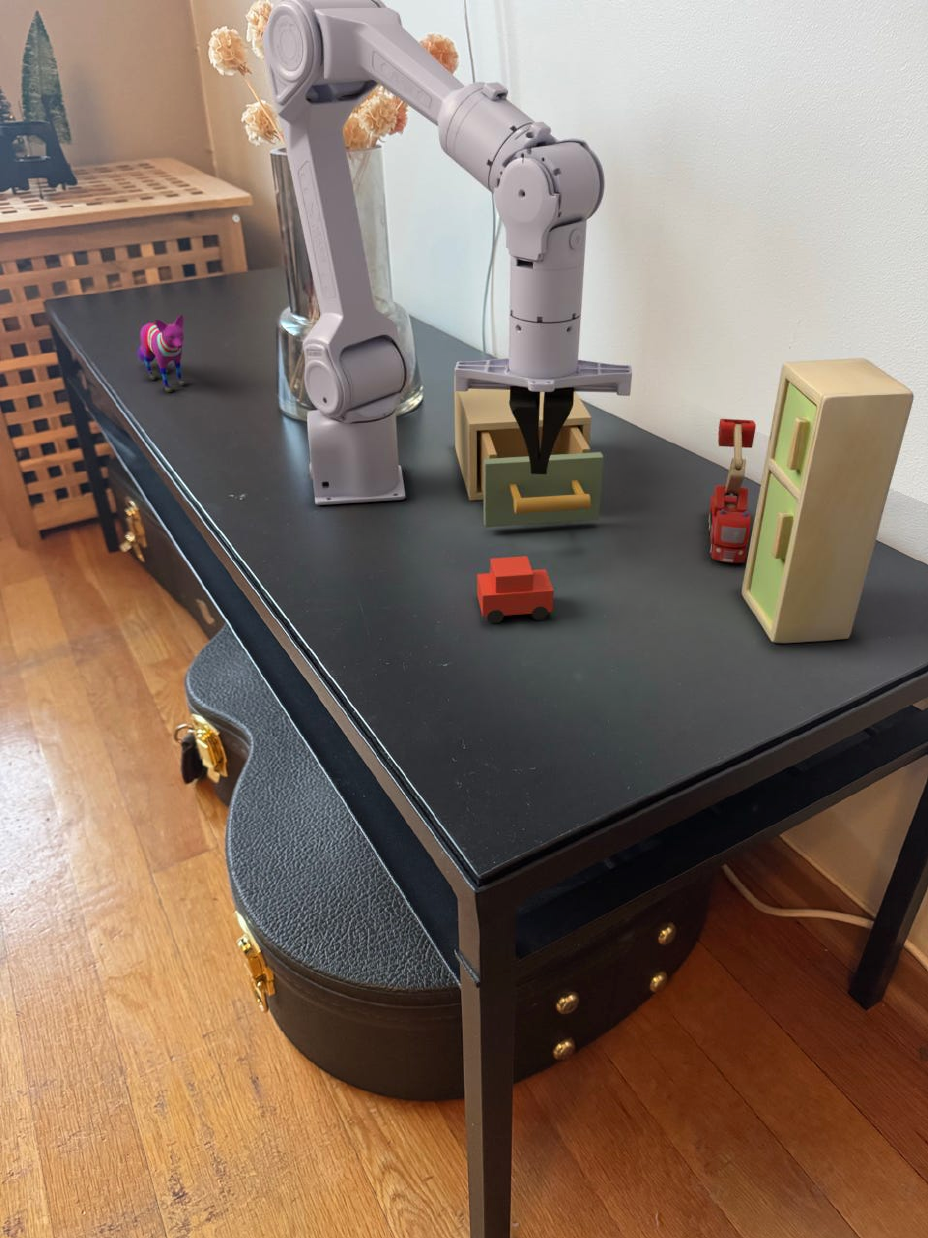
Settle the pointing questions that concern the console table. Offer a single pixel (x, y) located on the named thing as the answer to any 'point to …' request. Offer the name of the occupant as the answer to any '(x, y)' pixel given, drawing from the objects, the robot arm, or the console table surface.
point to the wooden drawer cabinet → (495, 426)
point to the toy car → (514, 590)
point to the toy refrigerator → (823, 496)
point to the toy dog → (162, 347)
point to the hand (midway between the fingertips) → (539, 469)
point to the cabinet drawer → (537, 479)
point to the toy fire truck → (731, 512)
